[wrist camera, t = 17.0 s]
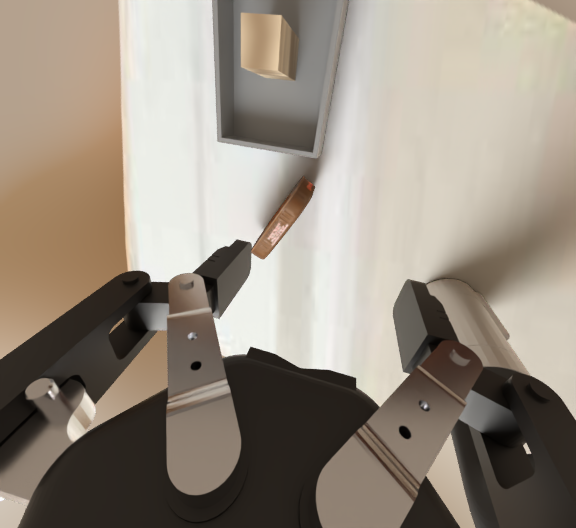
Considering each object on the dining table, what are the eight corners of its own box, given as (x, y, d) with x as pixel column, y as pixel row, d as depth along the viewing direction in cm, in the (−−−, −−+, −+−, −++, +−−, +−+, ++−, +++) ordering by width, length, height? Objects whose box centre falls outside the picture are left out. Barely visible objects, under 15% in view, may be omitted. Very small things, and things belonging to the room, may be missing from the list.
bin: (359, -59, 24) (359, -95, 20) (321, 153, 35) (316, 158, 31) (231, -64, 26) (208, -98, 22) (233, 139, 37) (217, 141, 33)
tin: (306, 170, 37) (294, 182, 30) (322, 183, 37) (314, 198, 30) (258, 236, 45) (240, 258, 38) (272, 246, 46) (256, 270, 39)
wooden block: (299, 39, 28) (281, 15, 22) (295, 80, 31) (277, 70, 24) (267, 36, 29) (240, 12, 22) (265, 77, 31) (240, 67, 25)
